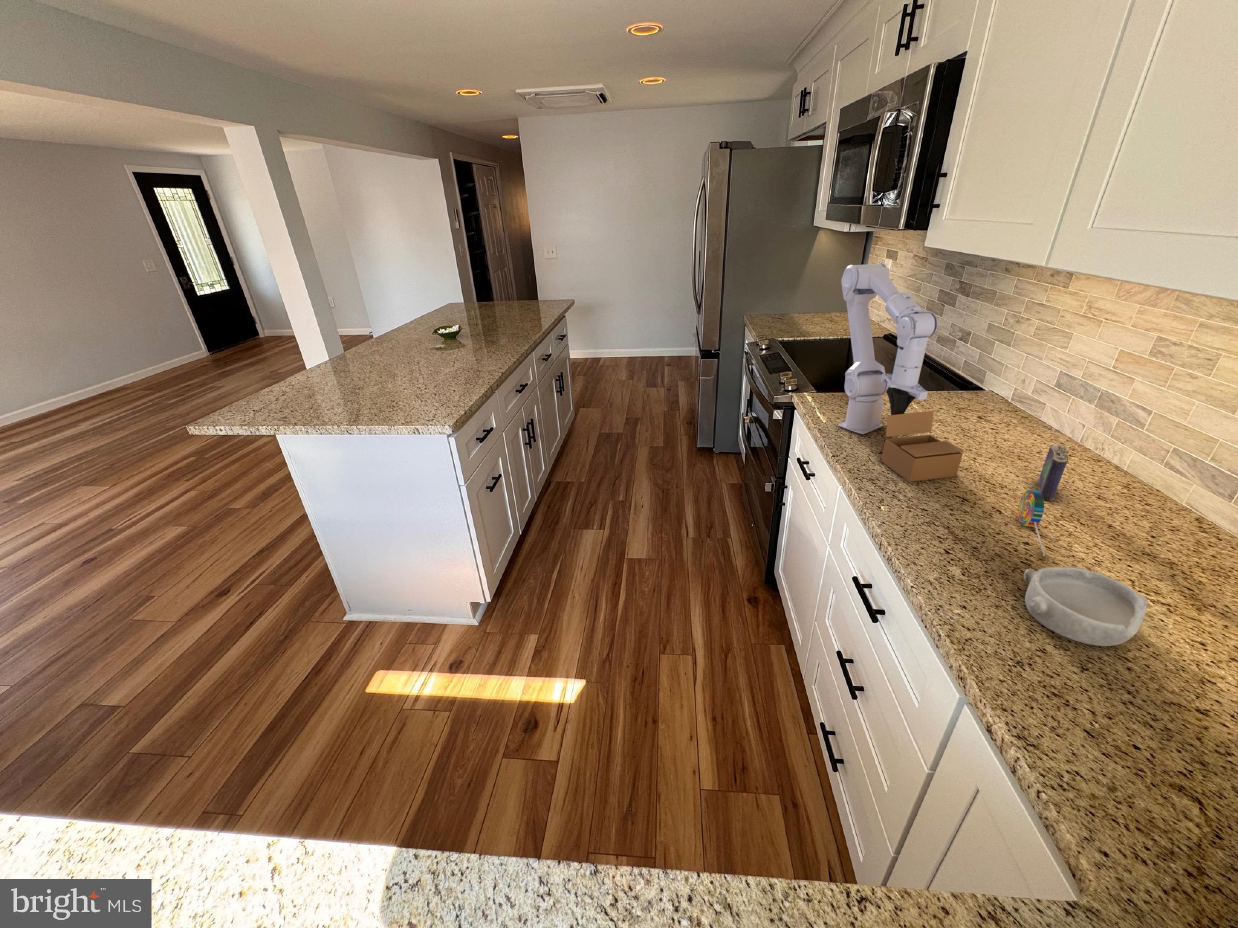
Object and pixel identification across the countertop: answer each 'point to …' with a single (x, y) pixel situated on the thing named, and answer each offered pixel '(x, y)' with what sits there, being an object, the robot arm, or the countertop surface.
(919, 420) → the flap
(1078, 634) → the dish
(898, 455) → the carton
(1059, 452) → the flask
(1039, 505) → the lollipop
